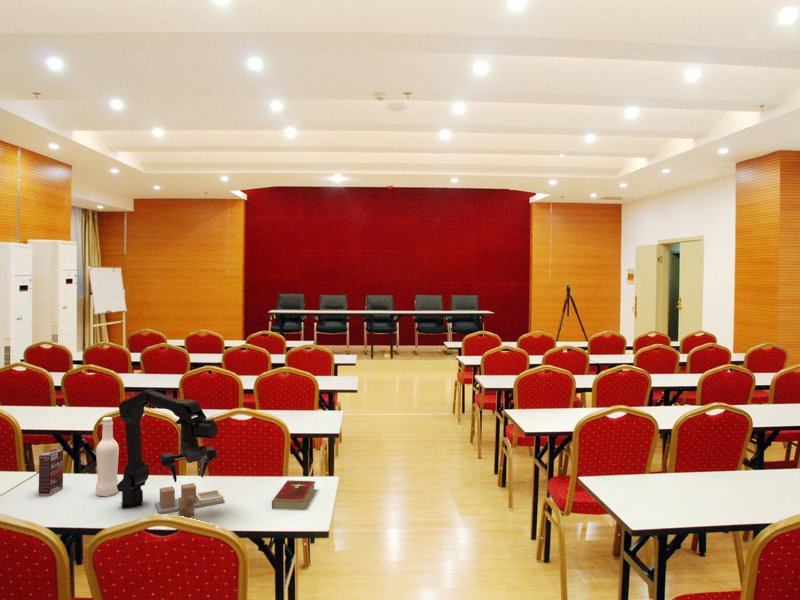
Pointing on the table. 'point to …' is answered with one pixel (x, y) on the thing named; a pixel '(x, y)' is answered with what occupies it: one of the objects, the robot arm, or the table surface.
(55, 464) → the supplement box
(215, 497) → the holder
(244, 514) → the table surface
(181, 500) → the walnut block
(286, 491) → the hardcover book
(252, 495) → the table surface
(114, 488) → the bottle
